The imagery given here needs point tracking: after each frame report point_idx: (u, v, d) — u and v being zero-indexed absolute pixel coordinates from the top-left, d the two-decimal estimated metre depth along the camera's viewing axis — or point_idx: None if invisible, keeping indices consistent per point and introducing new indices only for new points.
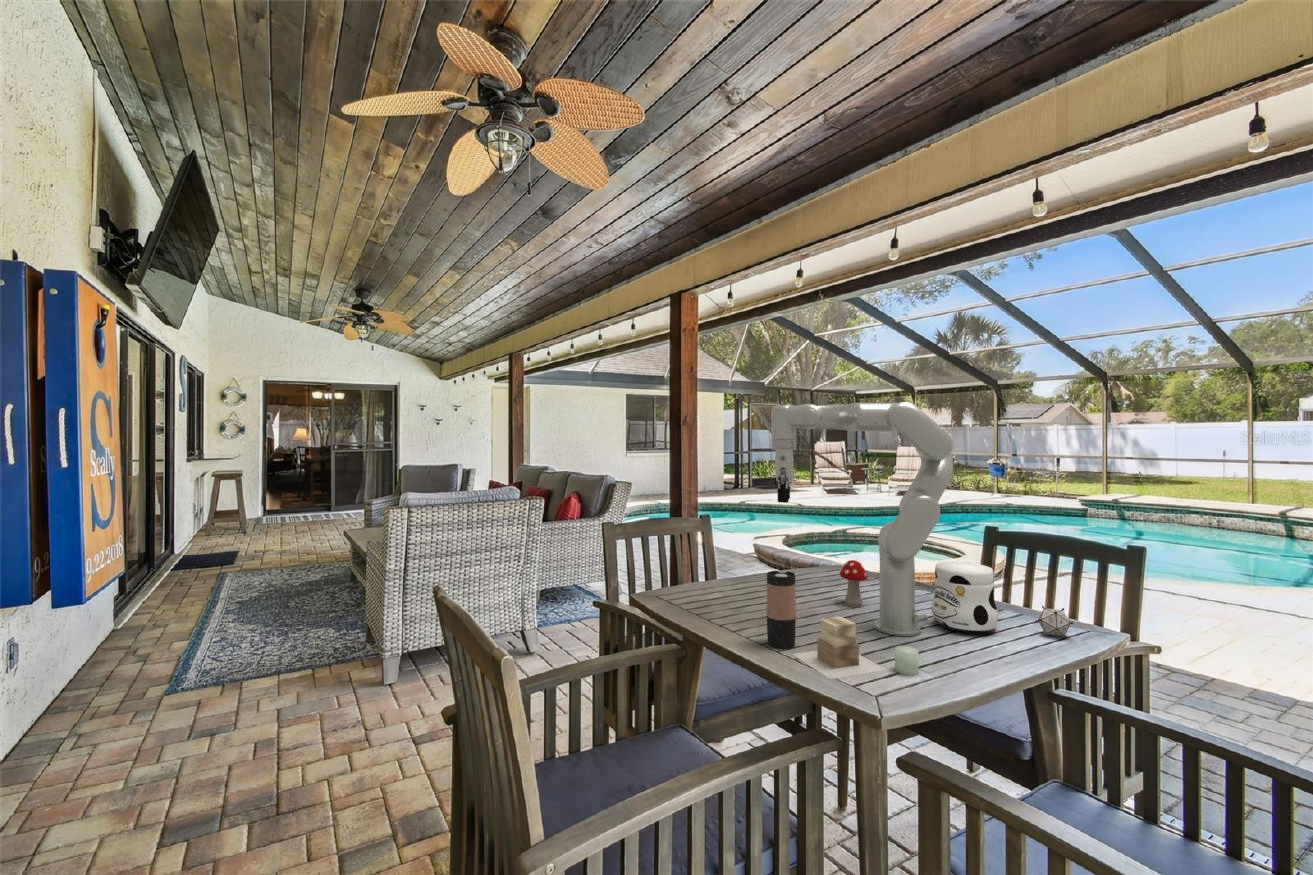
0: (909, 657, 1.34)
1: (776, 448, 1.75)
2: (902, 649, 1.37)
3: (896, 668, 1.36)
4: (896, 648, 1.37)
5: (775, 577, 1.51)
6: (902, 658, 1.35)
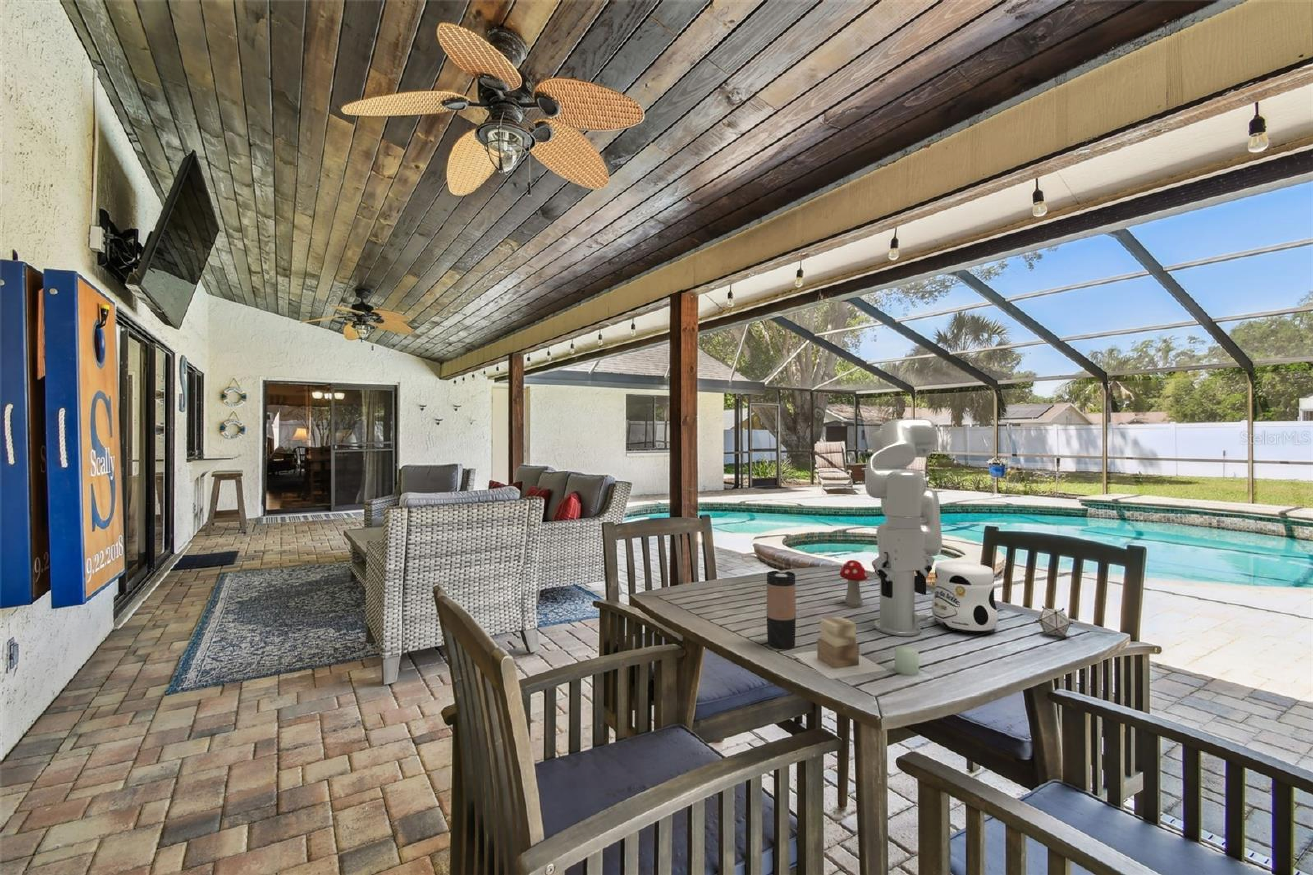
0: (909, 657, 1.34)
1: None
2: (902, 649, 1.37)
3: (896, 668, 1.36)
4: (896, 648, 1.37)
5: (775, 577, 1.51)
6: (902, 658, 1.35)
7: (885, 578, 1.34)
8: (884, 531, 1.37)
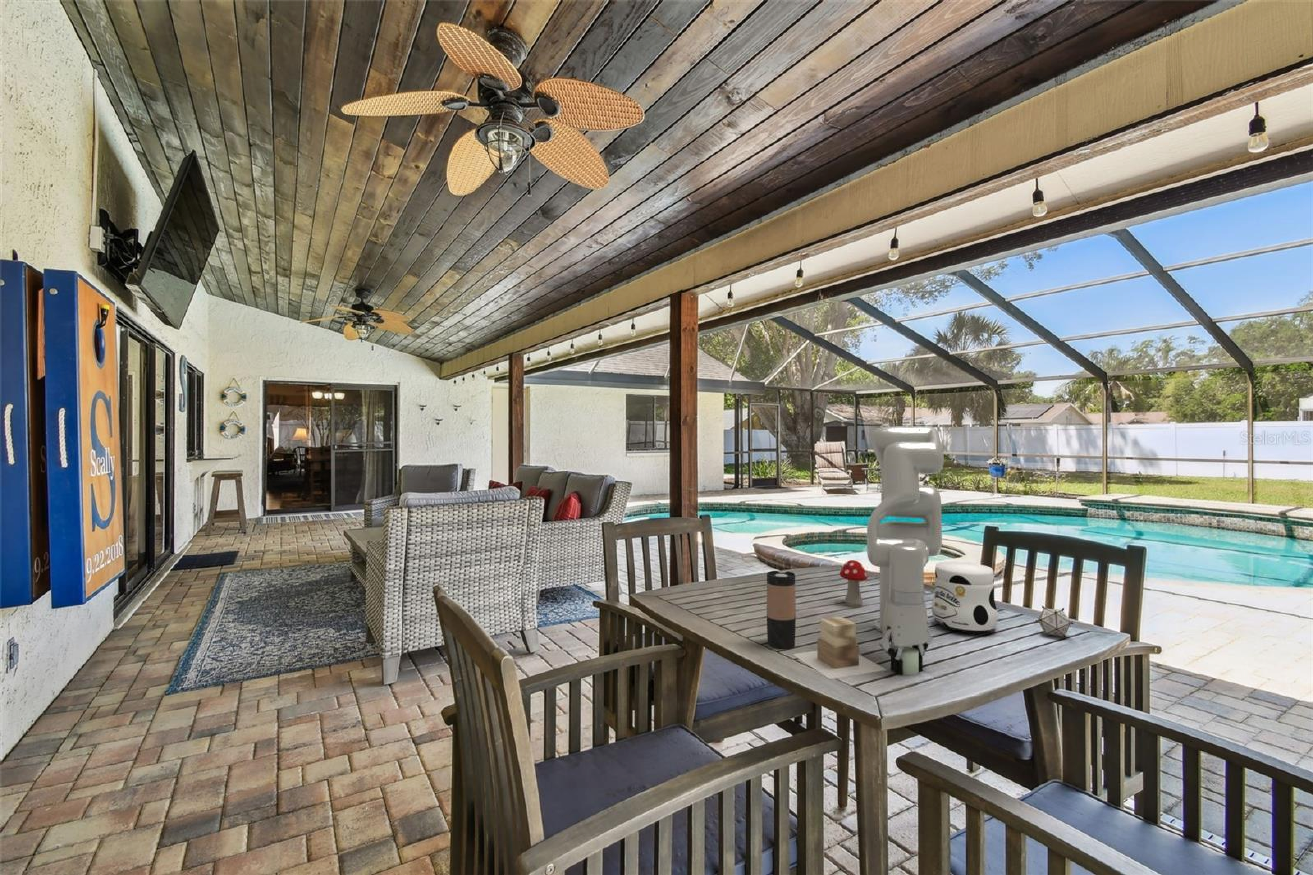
0: (909, 657, 1.34)
1: None
2: (902, 649, 1.37)
3: None
4: (896, 648, 1.37)
5: (775, 577, 1.51)
6: (902, 658, 1.35)
7: (895, 658, 1.34)
8: (887, 605, 1.36)
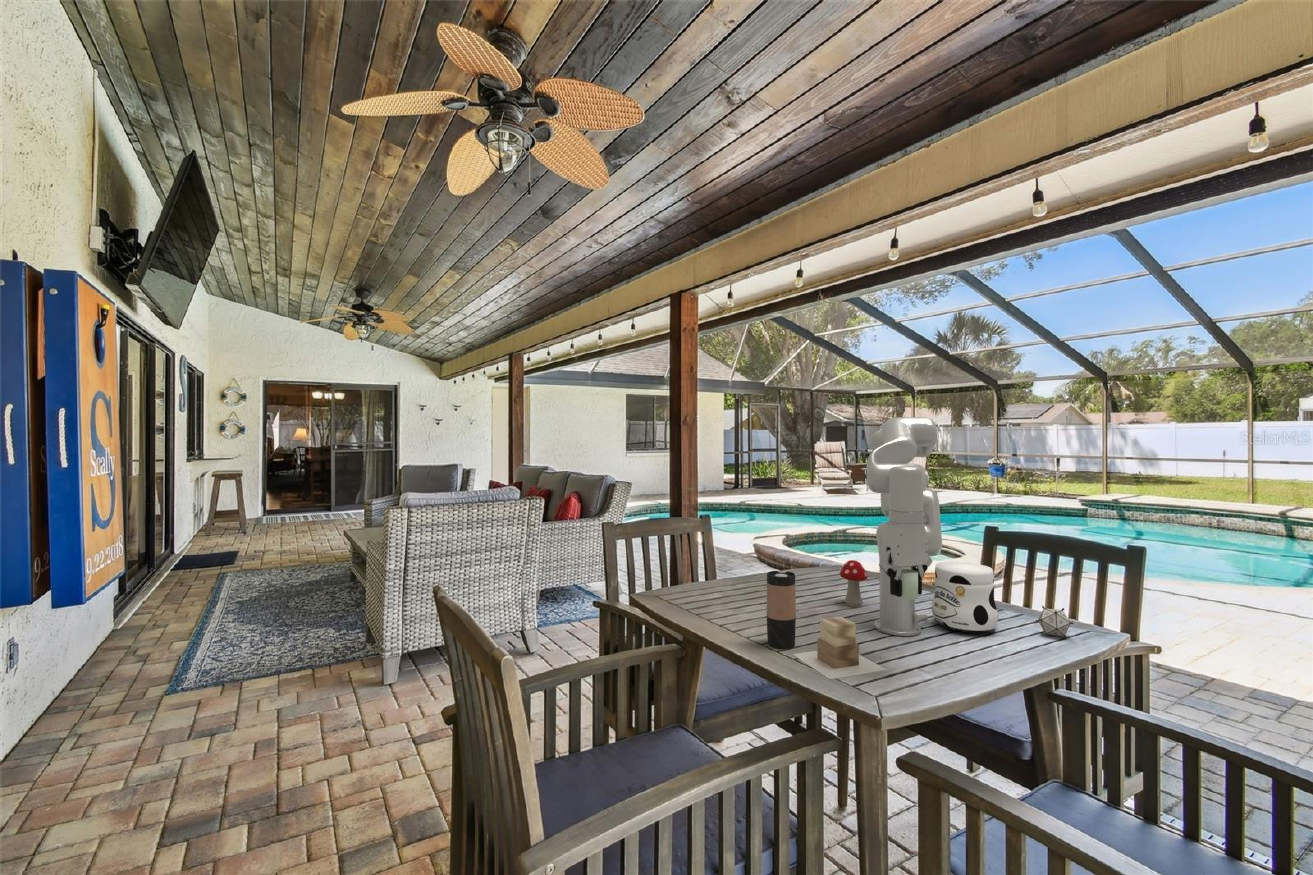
0: (909, 577, 1.34)
1: None
2: (901, 571, 1.37)
3: None
4: (895, 570, 1.37)
5: (775, 577, 1.51)
6: (901, 578, 1.35)
7: (894, 578, 1.34)
8: (886, 526, 1.36)
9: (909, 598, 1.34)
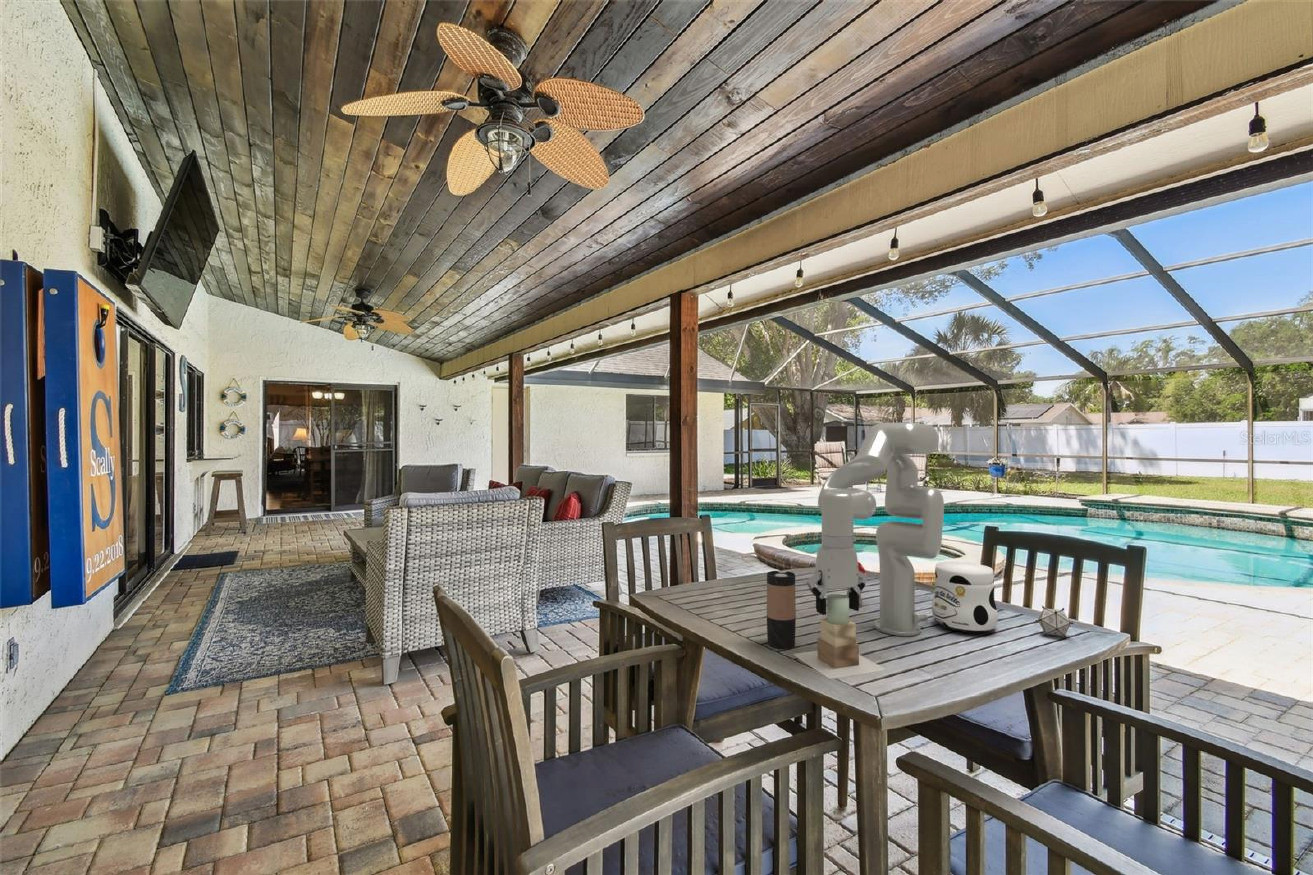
0: (839, 603, 1.40)
1: None
2: (833, 596, 1.42)
3: (828, 614, 1.42)
4: (828, 595, 1.43)
5: (775, 577, 1.51)
6: (832, 604, 1.40)
7: (819, 596, 1.39)
8: (819, 550, 1.42)
9: (839, 623, 1.40)
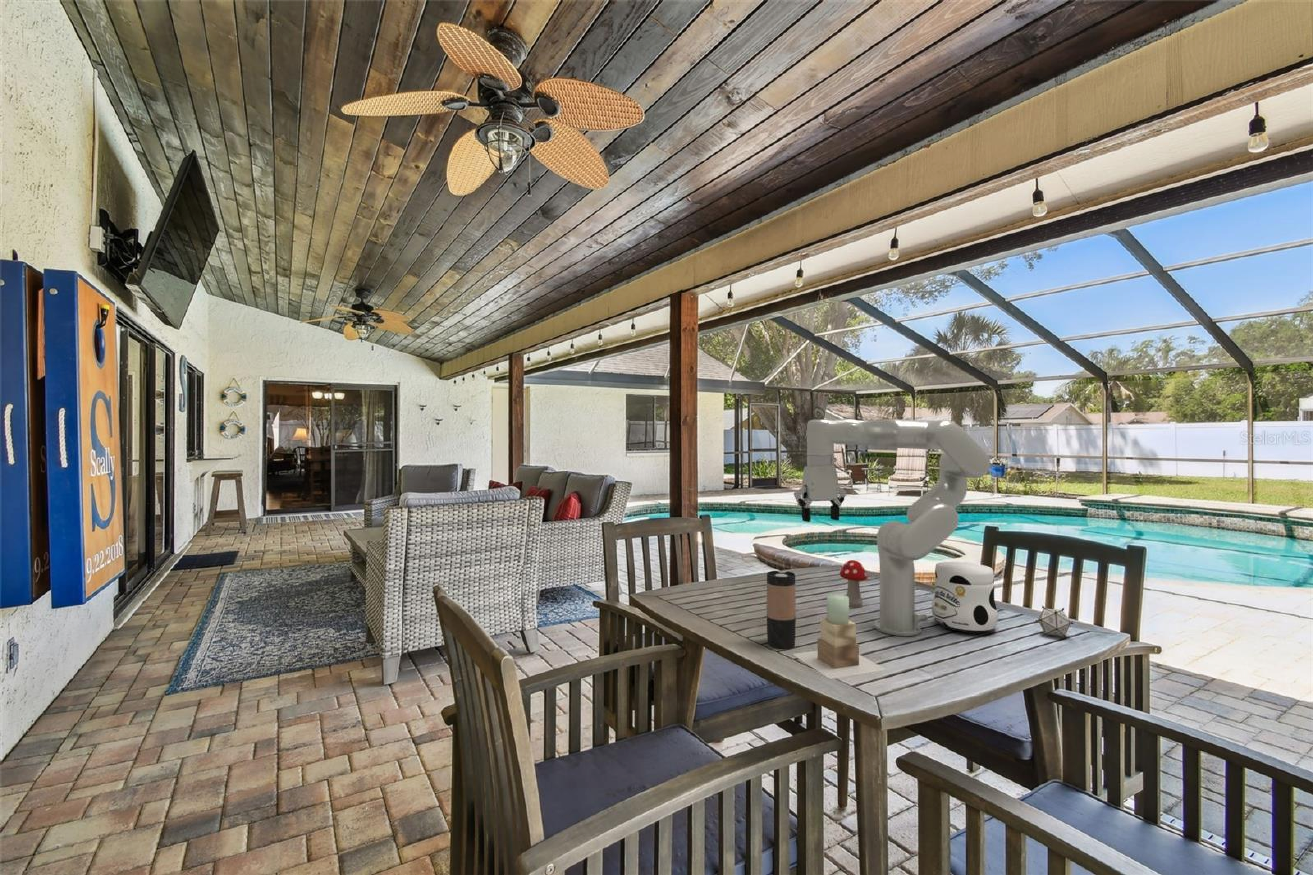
0: (839, 603, 1.40)
1: None
2: (833, 597, 1.42)
3: (828, 614, 1.42)
4: (828, 596, 1.43)
5: (775, 577, 1.51)
6: (832, 604, 1.40)
7: (804, 506, 1.65)
8: (804, 468, 1.67)
9: (839, 623, 1.40)
